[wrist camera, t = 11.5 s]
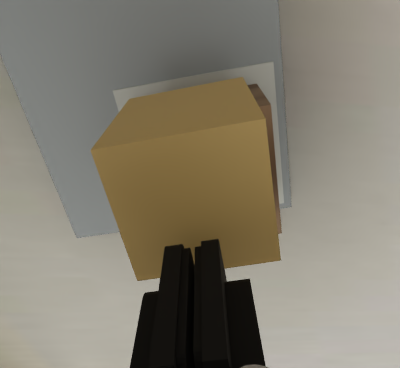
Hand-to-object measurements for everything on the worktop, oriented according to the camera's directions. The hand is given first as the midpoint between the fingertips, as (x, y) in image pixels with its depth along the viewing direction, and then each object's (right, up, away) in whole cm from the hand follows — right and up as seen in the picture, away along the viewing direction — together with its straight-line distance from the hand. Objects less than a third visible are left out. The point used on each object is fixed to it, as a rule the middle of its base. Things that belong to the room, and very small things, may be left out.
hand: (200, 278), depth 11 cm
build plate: (-3, +9, +10) cm, 14 cm away
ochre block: (0, +5, +5) cm, 7 cm away
